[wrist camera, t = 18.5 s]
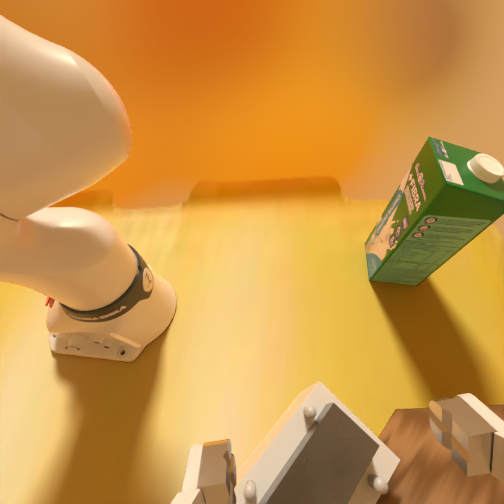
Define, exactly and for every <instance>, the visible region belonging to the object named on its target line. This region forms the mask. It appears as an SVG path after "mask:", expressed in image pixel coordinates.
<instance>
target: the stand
mask: <svg viewBox="0 0 504 504" xmlns="http://www.w3.org/2000/svg"><path fill="white" fill-rule="evenodd" d="M486 406H487V407H488V408H489V409H490V410H491V411H492V412H494V413H495V414H496V415H497V416H498V417H499V418H500V419H502V420H503V421H504V405H486ZM432 413H433V412H432V410H431V409H430V408H414V409H396V410H395V411H394V413H393V415H392V416H391V418H390V420H389V421H388V423H387V424H386V426H385V428H384V429H383V431H382V432H381V434H380V436H379V437H378V438H379V439H380V440H381V441H382V442H383V443H384V444H385V445H386V446H387V447H388V448H389V449H390V450H391V451H392V452H393V453H394V454H395V455H396V456H397V457H398V458H399V459H400V462H399V463H398V465H397V467H396V469H395V471H394V472H393V474H392V476H391V478H390V479H389V481H388V483H387V485H388V491H387V493H386V494H381V495H380V497H379V499H378V501H377V502H376V504H504V483H503V482H502V481H500V480H499V479H497V478H496V477H494V476H493V475H491V473H487V474H481V475H475V476H468V477H467V476H466V475H465V474H464V472H463V471H462V470H461V469H460V467H459V466H458V465H457V464H456V462H455V461H454V460H453V459H452V457H451V450H449V449H447V448H446V447H444V446H442V445H441V444H440V442H439V441H438V440H437V438H436V437H435V435H434V433H433V431H432V428H431V426H430V416H431V414H432Z"/></svg>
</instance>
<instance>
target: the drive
mask: <svg viewBox="0 0 504 504" xmlns="http://www.w3.org/2000/svg"><path fill="white" fill-rule="evenodd" d="M379 446H380V445H378V444H377V443H376V442H375V441H374V440H373V439H372V438H371V437H370V436H369V435H368V434H367V433H366V432H365V431H364V430H362V429H361V428H360V427H359V426H358V425H357V424H356V423H355V422H354V421H353V420H352V419H351V418H350V417H349V416H348V415H346V414H345V413H344V412H343V411H342V410H341V409H340V408H339V407H338V406H337V405H336V404H335V403H328V404H326V405H325V407H324V408H323V410H322V411H321V413H320V414H319V416H318V417H317V419H316V420H315V421H314V423H313V424H312V426H311V427H310V429H309V430H308V432H307V433H306V435H305V436H304V438H303V439H302V440H301V442H300V443H299V445H298V446H297V448H296V449H295V451H294V452H293V454H292V455H291V457H290V458H289V459H288V461H287V462H286V464H285V465H284V467H283V468H282V470H281V471H280V473H279V474H278V476H277V477H276V478H275V480H274V481H273V483H272V484H271V486H270V487H269V489H268V490H267V492H266V493H265V495H264V496H263V497H262V499H261V500H260V502H259V503H258V504H348V502H349V500H350V499H351V497H352V495H353V493H354V491H355V490H356V488H357V486H358V484H359V482H360V481H361V479H362V477H363V475H364V473H365V472H366V470H367V468H368V466H369V464H370V462H371V461H372V459H373V457H374V455H375V453H376V452H377V450H378V448H379Z"/></svg>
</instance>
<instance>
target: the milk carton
mask: <svg viewBox="0 0 504 504" xmlns="http://www.w3.org/2000/svg"><path fill="white" fill-rule="evenodd" d="M503 176H504V167H503V165H502V164H500V163H499V162H498V161H497V160H496V159H494V158H492V157H491V156H489V155H486V154H483V153H479V152H476V151H473V150H470V149H467V148H464V147H460V146H457V145H454V144H451V143H447V142H444V141H441V140H438V139H435V138H432V137H428V139H427V141H426V142H425V144H424V146H423V147H422V149H421V151H420V152H419V154H418V156H417V157H416V159H415V161H414V162H413V164H412V166H411V167H410V169H409V171H408V172H407V174H406V176H405V177H404V179H403V181H402V182H401V184H400V186H399V187H398V189H397V191H396V193H395V194H394V196H393V197H392V199H391V201H390V202H389V204H388V206H387V207H386V209H385V211H384V212H383V214H382V216H381V217H380V219H379V221H378V222H377V224H376V226H375V227H374V229H373V231H372V232H371V234H370V236H369V237H368V239H367V241H366V242H365V247H366V256H367V265H368V275H369V280H371V281H379V282H388V283H397V284H406V285H415V286H418V285H419V284H420V283H421V282H422V281H424V280H425V279H426V278H427V277H428V276H430V275H431V274H432V273H433V272H434V271H436V270H437V269H438V268H439V267H440V266H442V265H443V264H444V263H445V262H446V261H448V260H449V259H450V258H451V257H452V256H454V255H455V254H456V253H457V252H458V251H460V250H461V249H462V248H463V247H464V246H466V245H467V244H468V243H469V242H470V241H472V240H473V239H474V238H475V237H476V236H478V235H479V234H480V233H481V232H482V231H484V230H485V229H486V228H487V227H488V226H490V225H491V224H492V223H493V222H495V221H496V220H497V219H498V218H499V217H501V216H502V215H503V214H504V181H503V179H502V177H503Z"/></svg>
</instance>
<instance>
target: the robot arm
mask: <svg viewBox="0 0 504 504" xmlns="http://www.w3.org/2000/svg"><path fill="white" fill-rule="evenodd" d="M130 149H131V127H130V122H129V118H128V115H127V112H126V110H125V107H124V105H123V103H122V101H121V99H120V97H119V96H118V94H117V92H116V91H115V90H114V88H113V87H112V86H111V84H110V83H109V82H108V80H107V79H106V78H105V77H104V76H103V75H102V74H101V73H100V72H99V71H98V70H97V69H96V68H95V67H93V66H92V65H91V64H90V63H88V62H87V61H86V60H84V59H83V58H82V57H80V56H78V55H77V54H75V53H74V52H72V51H70V50H68V49H66V48H64V47H62V46H60V45H57V44H54V43H52V42H50V41H47V40H45V39H43V38H40V37H39V36H36V35H35V34H32V33H30V32H28V31H26V30H25V29H23V28H21V27H20V26H18V25H16V24H14V23H13V22H11V21H9V20H8V19H6V18H4V17H3V16H1V15H0V282H6V283H12V284H17V285H21V286H24V287H27V288H30V289H33V290H35V291H37V292H39V293H42V294H44V295H46V296H48V297H47V300H46V304H45V305H46V306H47V305H48V303H49V308H48V312H47V319H46V325H47V329H48V331H49V343H50V347H51V350H52V351H54V352H56V353H60V354H68V355H76V356H84V357H93V358H101V359H109V360H117V361H125V362H131V361H133V360H135V359H136V358H137V357H138V356H139V354H140V353H141V352H142V350H143V349H144V347H145V346H146V345H147V344H149V343H150V342H151V341H153V340H154V339H156V338H157V337H158V336H159V335H160V334H161V333H162V332H163V331H164V330H165V329H166V328H167V327H168V325H169V324H170V322H171V320H172V318H173V316H174V313H175V309H176V295H175V292H174V289H173V287H172V286H171V284H170V283H169V282H168V281H167V280H165V279H164V278H162V277H160V276H159V275H158V274H156V273H155V272H154V270H153V269H152V268H151V267H150V266H149V265H148V264H147V263H146V262H145V261H144V260H143V258H142V257H141V256H140V255H139V254H138V252H137V251H136V250H135V249H134V248H133V247H132V246H130V245H128V244H127V243H126V242H125V241H124V239H123V238H122V237H121V236H120V234H119V233H118V232H117V231H116V229H115V228H114V227H113V225H112V224H111V223H110V222H109V221H108V220H107V219H105V218H104V217H102V216H100V215H98V214H96V213H94V212H91V211H88V210H85V209H82V208H75V207H56V208H46V207H48V206H50V205H52V204H54V203H57V202H59V201H61V200H63V199H65V198H67V197H70V196H72V195H74V194H76V193H78V192H80V191H82V190H85V189H87V188H89V187H91V186H93V185H94V184H95V183H97V182H98V181H99V180H101V179H102V178H104V177H105V176H106V175H108V174H109V173H110V172H112V171H113V170H114V169H116V168H117V167H118V166H119V165H121V163H123V162H124V161H125V160H127V159H128V157H129V153H130ZM55 336H57V337H55ZM123 351H125V354H124V355H122V352H123ZM429 408H430V409H431V410H432V412H433V413H432V414H431V416H430V426H431V428H432V431H433V433H434V435H435V437H436V438H437V440H438V441H439V442H440V444H441V445H442V446H444V447H446V448H447V449H449V450H451V457H452V459H453V460H454V461H455V462H456V464H457V465H458V466H459V467H460V469H461V470H462V471H463V472H464V474H465V475H466V476H467V477H468V476H475V475H481V474H487V473H491V475H493V476H494V477H496V478H497V479H499V480H500V481H502V482H503V483H504V421H503V420H502V419H500V418H499V417H498V416H497V415H496V414H495V413H494V412H492V411H491V410H490V409H489V408H488V407H487V406H485V405H484V404H483V403H482V402H481V401H480V400H479V399H477V398H476V397H475V396H474V395H472V394H470V393H466V394H460V395H456V396H449V397H444V398H439V399H434V400H431V401H430V403H429ZM235 486H236V465H235V459H234V454H232V453H231V443H230V439H226V440H220V441H213V442H207V443H202V444H196V445H192V446H191V448H190V451H189V456H188V461H187V466H186V471H185V477H184V482H183V487H182V492H180V493H177V495H176V496H175V498H174V499H173V501H172V502H171V503H170V504H236V495H235V491H234V488H235Z"/></svg>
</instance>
